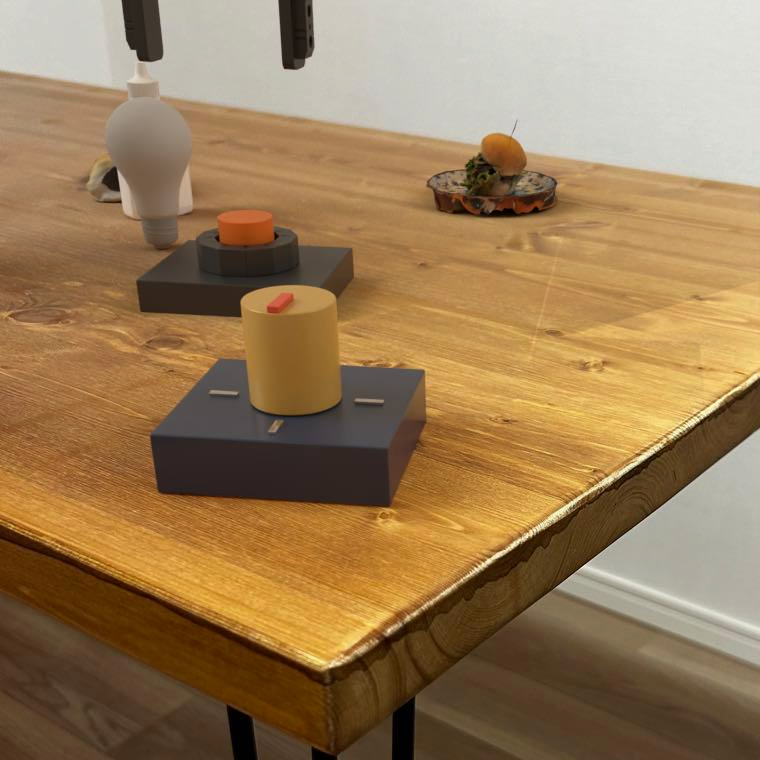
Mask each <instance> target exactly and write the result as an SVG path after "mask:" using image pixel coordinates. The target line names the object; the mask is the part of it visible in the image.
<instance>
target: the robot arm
mask: <svg viewBox="0 0 760 760" xmlns="http://www.w3.org/2000/svg"><path fill="white" fill-rule="evenodd" d="M313 1H314V0H278V18H279V34H280V35H279V36H280V50H281V64H282V68H283V70H289V71H290V70H291V71H299V70H300V69H303V68H304V67H305V65H306V59H309V58H312V56H313V54H314V51H315V46H316V45H315V30H314V29H315V28H314V25H315V24H314V7H313ZM121 8H122V16H123V17H122V18H123V24H124V35H125V41H126V43H127V45H128V47H129V50H130V51H135V53H136V58H137V60H138V62H145V63H154V62H157V61H161V60H163V58H164V43H163V42H164V41H163V32H162V24H161V14H160V13H161V12H160V6H159V0H121Z"/></svg>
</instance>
